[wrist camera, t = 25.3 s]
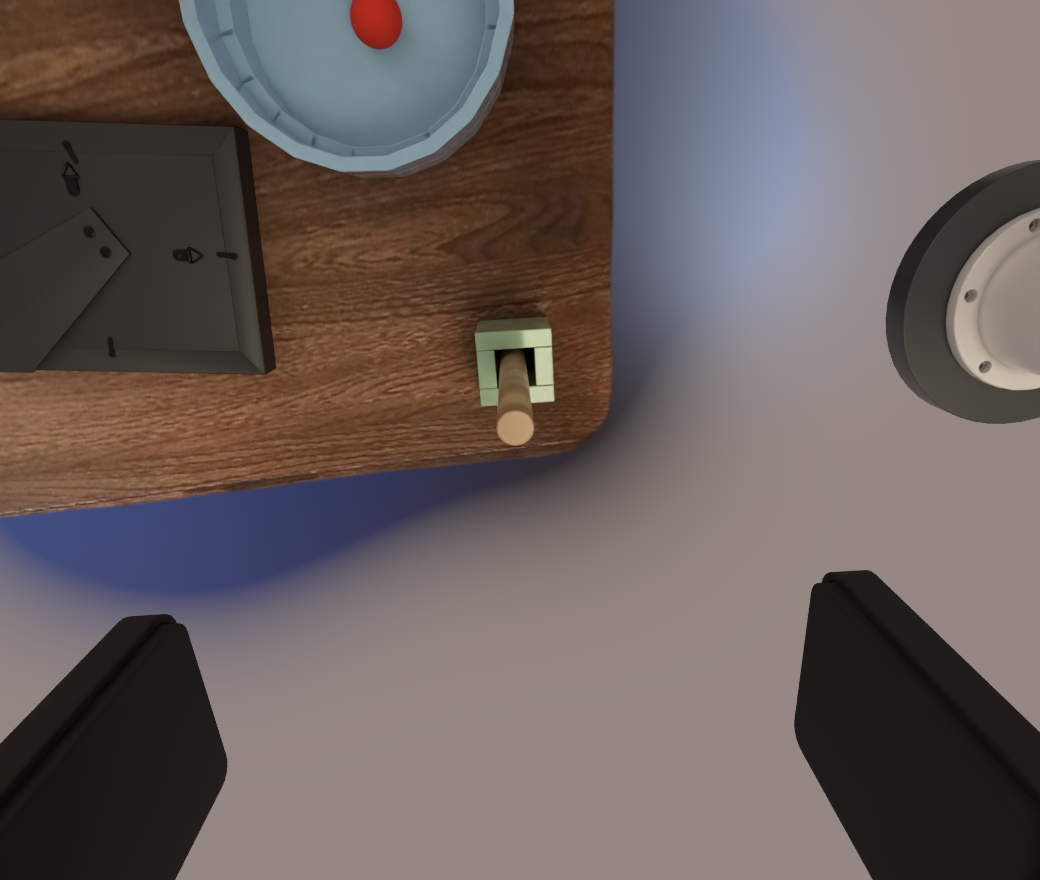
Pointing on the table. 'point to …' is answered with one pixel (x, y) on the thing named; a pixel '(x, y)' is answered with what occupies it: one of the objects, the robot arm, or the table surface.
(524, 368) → the stick
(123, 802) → the robot arm
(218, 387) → the table surface
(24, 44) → the table surface
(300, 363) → the table surface
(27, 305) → the picture frame
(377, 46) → the ball
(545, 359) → the holder
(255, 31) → the light blue round tray
